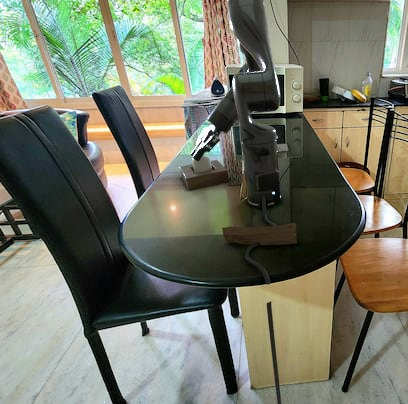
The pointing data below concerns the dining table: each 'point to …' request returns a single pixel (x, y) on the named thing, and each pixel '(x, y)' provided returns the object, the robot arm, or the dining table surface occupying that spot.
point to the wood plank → (262, 234)
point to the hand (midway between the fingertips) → (194, 157)
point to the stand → (204, 175)
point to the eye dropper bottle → (201, 163)
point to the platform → (282, 147)
